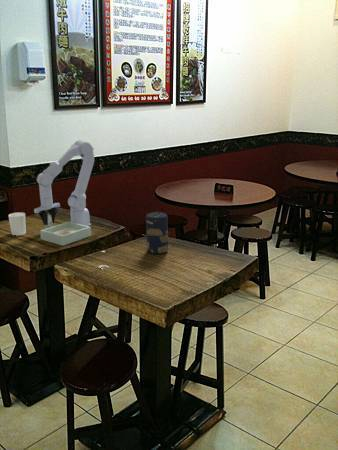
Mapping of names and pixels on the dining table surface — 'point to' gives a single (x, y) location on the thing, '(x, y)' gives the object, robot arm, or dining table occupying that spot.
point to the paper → (102, 265)
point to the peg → (49, 221)
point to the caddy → (65, 233)
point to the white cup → (17, 223)
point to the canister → (157, 232)
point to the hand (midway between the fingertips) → (48, 223)
